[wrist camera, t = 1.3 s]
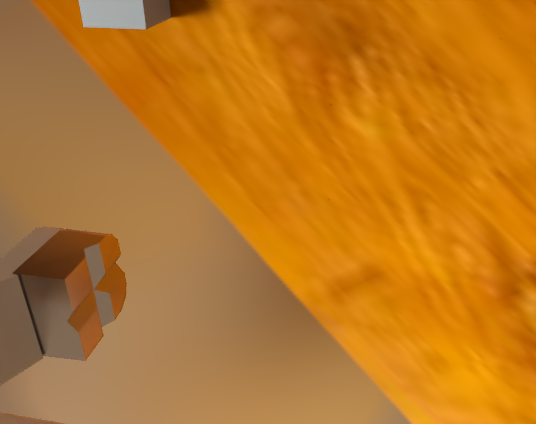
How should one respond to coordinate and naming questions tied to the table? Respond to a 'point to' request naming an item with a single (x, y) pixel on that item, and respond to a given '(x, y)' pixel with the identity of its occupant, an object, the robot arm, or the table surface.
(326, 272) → the table surface
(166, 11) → the block
